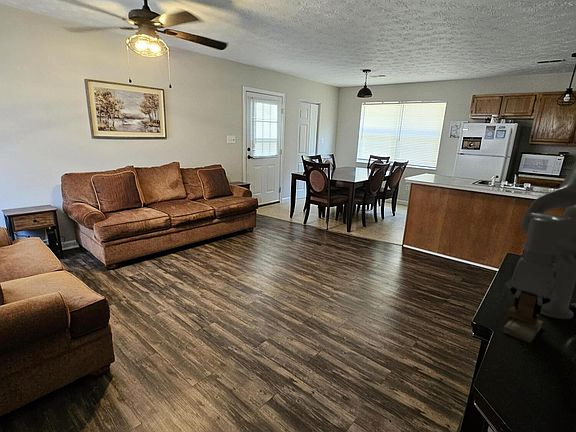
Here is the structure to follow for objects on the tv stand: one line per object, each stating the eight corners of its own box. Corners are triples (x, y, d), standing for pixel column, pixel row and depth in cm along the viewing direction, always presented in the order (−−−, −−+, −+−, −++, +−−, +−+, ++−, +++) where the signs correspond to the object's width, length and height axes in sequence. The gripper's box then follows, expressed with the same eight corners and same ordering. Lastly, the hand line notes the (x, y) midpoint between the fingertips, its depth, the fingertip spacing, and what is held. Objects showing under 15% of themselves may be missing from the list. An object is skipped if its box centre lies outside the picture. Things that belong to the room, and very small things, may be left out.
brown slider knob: (509, 316, 106) (516, 287, 104) (536, 326, 101) (543, 295, 98) (506, 320, 104) (512, 290, 101) (533, 330, 98) (540, 298, 96)
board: (516, 317, 107) (517, 312, 106) (541, 326, 102) (543, 321, 101) (502, 332, 98) (503, 326, 97) (530, 343, 93) (531, 337, 92)
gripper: (576, 263, 93) (562, 319, 97) (509, 248, 105) (500, 298, 109) (571, 268, 88) (557, 327, 92) (502, 252, 101) (492, 305, 105)
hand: (526, 311), depth 101 cm, fingers closed on brown slider knob, 4 cm apart
